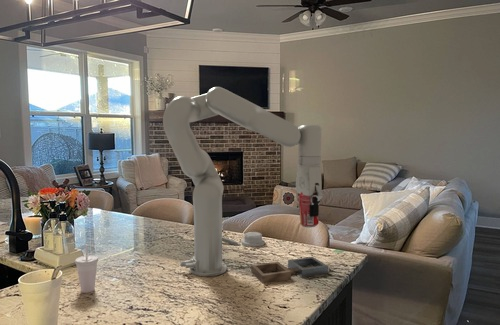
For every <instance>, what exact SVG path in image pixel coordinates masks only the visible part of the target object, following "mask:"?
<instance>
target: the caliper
mask: <svg viewBox="0 0 500 325" xmlns="http://www.w3.org/2000/svg"><path fill="white" fill-rule="evenodd" d="M222 242H224V243H227V244H230V245H233V246H241V244H240V243H239V242H238V241H235V240H232V239H230V238H227V237H223V236H222Z"/></svg>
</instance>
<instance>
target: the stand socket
mask: <svg viewBox="0 0 500 325" xmlns="http://www.w3.org/2000/svg"><path fill="white" fill-rule="evenodd" d="M274 271H275V272H274ZM266 272H269V273H266ZM250 273H251V274H252V275H253V276H254V277H255V278H256V279H257V280H258V281H259V282H260V283H261V284H267V283H274V282H281V281H286V280H287V281H288V280H291V279H292V274H291V271H290V270H288V269H287V266H284V265H283V264H282V263H281V262H279V261H272V262H265V263H264V262H263V263H256V264H251V265H250Z"/></svg>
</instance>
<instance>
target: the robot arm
mask: <svg viewBox="0 0 500 325" xmlns="http://www.w3.org/2000/svg"><path fill="white" fill-rule="evenodd" d="M166 106H167V107H166V108H165V109H164V112H163V118H162V126H163V130H164V133H165V136H166V138H167V140H168V142H169V145H170V147H171V148H172V151H173V153H174V156H175V158H176V160H177V162H178V164H179V166H180V168H181V171H182V172H183V174H184V175H185V176H187V177H189V178H190V179H191V180H192V182H193V185H194V188H193V191H192V205H193V206H192V207H193V233H194V234H193V235H194V236H193V241H194V242H193V244H194V245H193V246H194V249H193V250H194V254H193V256H192V257H191V258H189V260H180V262H179V264H180V267H182V268H183V267H185V268H186V269H189V271H190V273H191V274H192V275H194V276H199V277H216V276H220V275H221V274H224V273H226V272H227V269H228V265H227V264H226V263H224V262H223V241H222V237H223V194H224V184H223V181H222V179H221V177H220V175H219V173H218V171H217V169H216V167H215V164H214V162H213V160H212V159H211V157H210V155H209V154H208V152H206V150H203V149H202V148H201V147H200V145H199V142H198V141H197V138H196V136H195V134H194V132H193V130H192V128H191V126H190V124H191V123H195V122H197V121H202V120H204V119H208V118H212V117H216V116H221V117H223V118H225V119H227V120H229V121H231V122H233V123H234V124H236V125H238V126H241V127H242V128H244V129H246V130H248V131H252V132H256V133H258V134H259V135H262V136H263V137H266V138H268V139H270V140H271V141H274V142H275V143H277V144H279V145H280V146H282V147H285V148H292V147H295V146H297V147H298V148H297V149H298V152H297V153H298V156H297V159H298V161H297V168H296V175H295V176H296V178H295V192H296V193H297V195H298V197H299V195H300V193H301V192H303V195H305V196H310V202H311V205H310V208H309V216H310V217H315V216H318V217H319V212H320V211H319V206H320V204H321V201H322V198H323V197H324V194H323V193H322V189H323V188H322V184H323V182H322V170H321V166H322V162H321V161H322V128H321V126H320V125H318V124H302V125H297V124H296V125H295V124H294V123H292V122H290V121H288V120H286V119H285V118H282V117H280V116H278V115H277V114H275V113H272V112H270V111H269V110H266V109H264V108H263V107H261V106H259V105H257V104H255V103H253V102H251V101H249V100H248V99H246V98H243V97H241V96H239V95H238V94H236V93H233V92H232V91H229V90H228V89H225V87H224V88H223V87H221V86H214V87H212V88H210V89H209V90H208V91H207V93H203V94H201V95H200V94H199V95H196V96H193V97H190V96H187V95H179V96H177V97H175V98H173V99H172V100H171V101H170V102H169V103H168V105H166ZM313 194H316V195H313ZM313 197H316V198H315V199H314V200H313ZM298 202H299V201H298ZM298 204H299V205H298V206H299V210H298V212H299V213H300V202H299V203H298Z"/></svg>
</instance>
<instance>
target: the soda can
mask: <svg viewBox="0 0 500 325" xmlns="http://www.w3.org/2000/svg"><path fill="white" fill-rule="evenodd" d="M313 195H316V194H313ZM315 198H316V197H313V200H314V199H315ZM298 202H300V212H299V224H300V225H301V226H302V228H303V227H304V228H315V227H317V226H318V225H319V224H320V223H319V222H320V221H319V215H318V216H315V217H310V216H309V208H310V205H311V202H310V196H305V195H303V192H301V193H300V195H299V196H298Z"/></svg>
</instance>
